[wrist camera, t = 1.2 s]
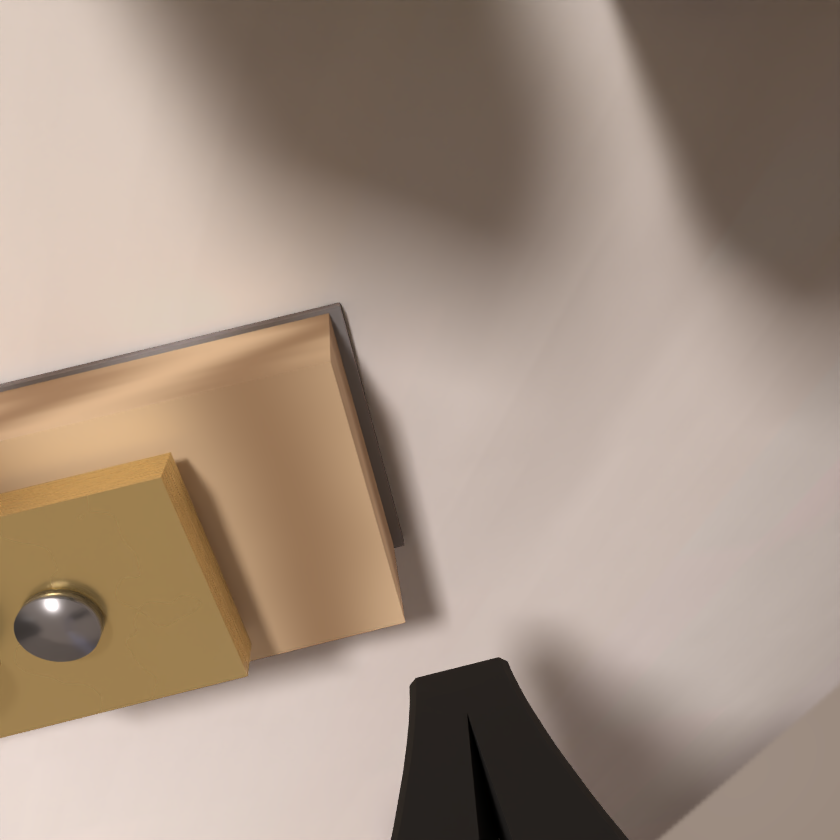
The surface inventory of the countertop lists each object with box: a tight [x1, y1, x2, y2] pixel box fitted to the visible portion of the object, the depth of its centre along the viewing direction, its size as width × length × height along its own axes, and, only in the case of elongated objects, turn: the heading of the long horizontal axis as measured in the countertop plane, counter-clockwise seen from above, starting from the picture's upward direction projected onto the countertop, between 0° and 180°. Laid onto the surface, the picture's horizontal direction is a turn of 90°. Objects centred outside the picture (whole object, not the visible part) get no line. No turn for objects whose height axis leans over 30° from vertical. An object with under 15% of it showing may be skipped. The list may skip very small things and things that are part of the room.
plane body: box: [0, 303, 405, 661], centre depth 17 cm, size 17×7×4 cm, turn 102°
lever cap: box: [0, 452, 252, 738], centre depth 15 cm, size 7×5×2 cm
